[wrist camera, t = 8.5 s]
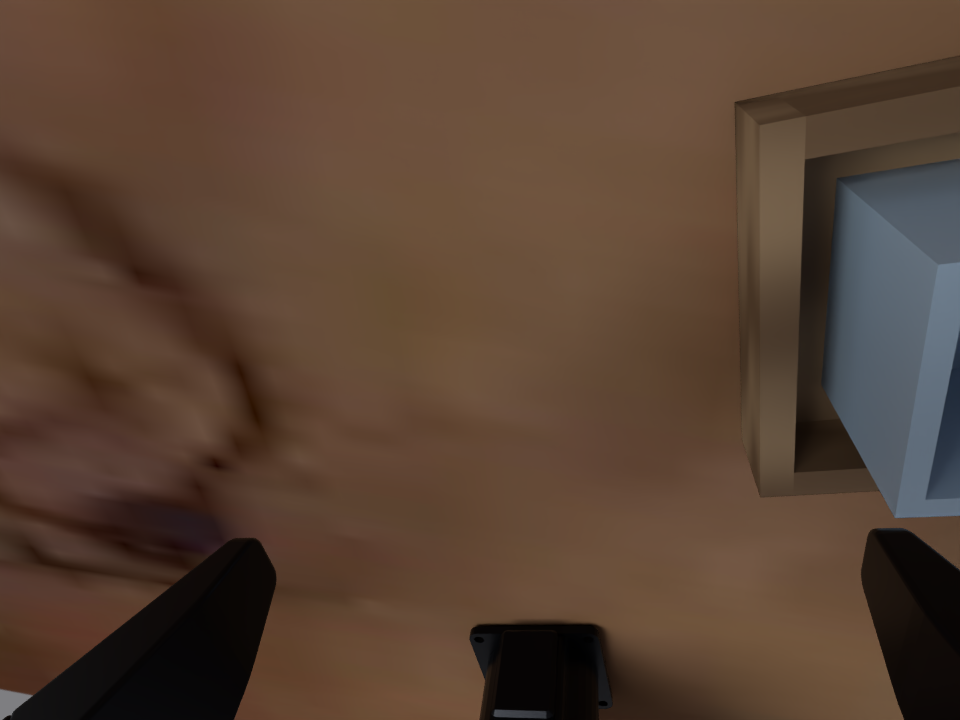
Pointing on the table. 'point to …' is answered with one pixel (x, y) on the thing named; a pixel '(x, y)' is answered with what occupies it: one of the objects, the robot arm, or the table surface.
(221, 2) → the table surface
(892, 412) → the small crate
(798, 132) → the walnut crate
